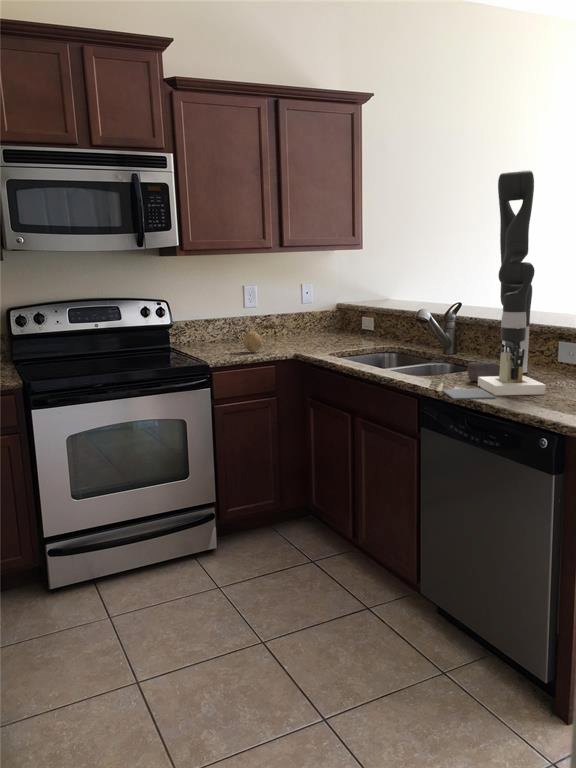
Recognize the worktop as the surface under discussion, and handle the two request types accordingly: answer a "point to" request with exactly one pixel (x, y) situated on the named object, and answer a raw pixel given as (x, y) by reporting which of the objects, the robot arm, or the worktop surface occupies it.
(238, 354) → the worktop surface
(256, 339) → the natural sponge
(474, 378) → the perforated stone tool
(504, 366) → the skincare box
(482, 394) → the mat
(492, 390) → the holder
